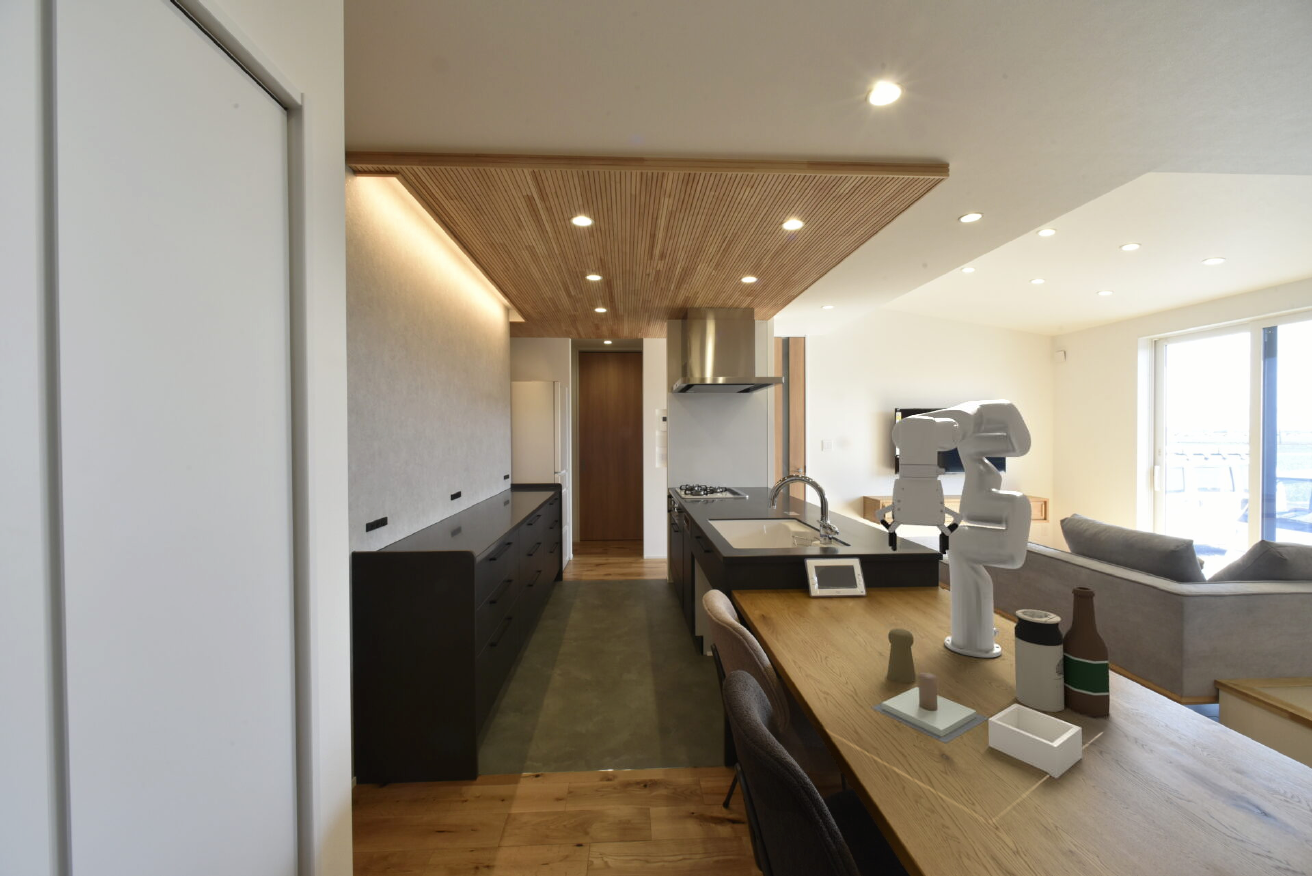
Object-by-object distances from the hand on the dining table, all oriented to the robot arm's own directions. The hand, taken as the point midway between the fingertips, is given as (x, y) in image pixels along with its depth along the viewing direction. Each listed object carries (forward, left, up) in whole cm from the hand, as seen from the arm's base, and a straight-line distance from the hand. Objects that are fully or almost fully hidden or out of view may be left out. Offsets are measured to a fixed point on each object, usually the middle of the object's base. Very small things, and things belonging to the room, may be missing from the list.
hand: (918, 551), depth 113 cm
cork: (-1, -5, -30) cm, 30 cm away
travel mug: (-14, +17, -30) cm, 37 cm away
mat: (+9, +7, -30) cm, 32 cm away
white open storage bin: (+6, +24, -30) cm, 39 cm away
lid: (+9, +7, -29) cm, 31 cm away
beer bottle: (-19, +23, -30) cm, 42 cm away
